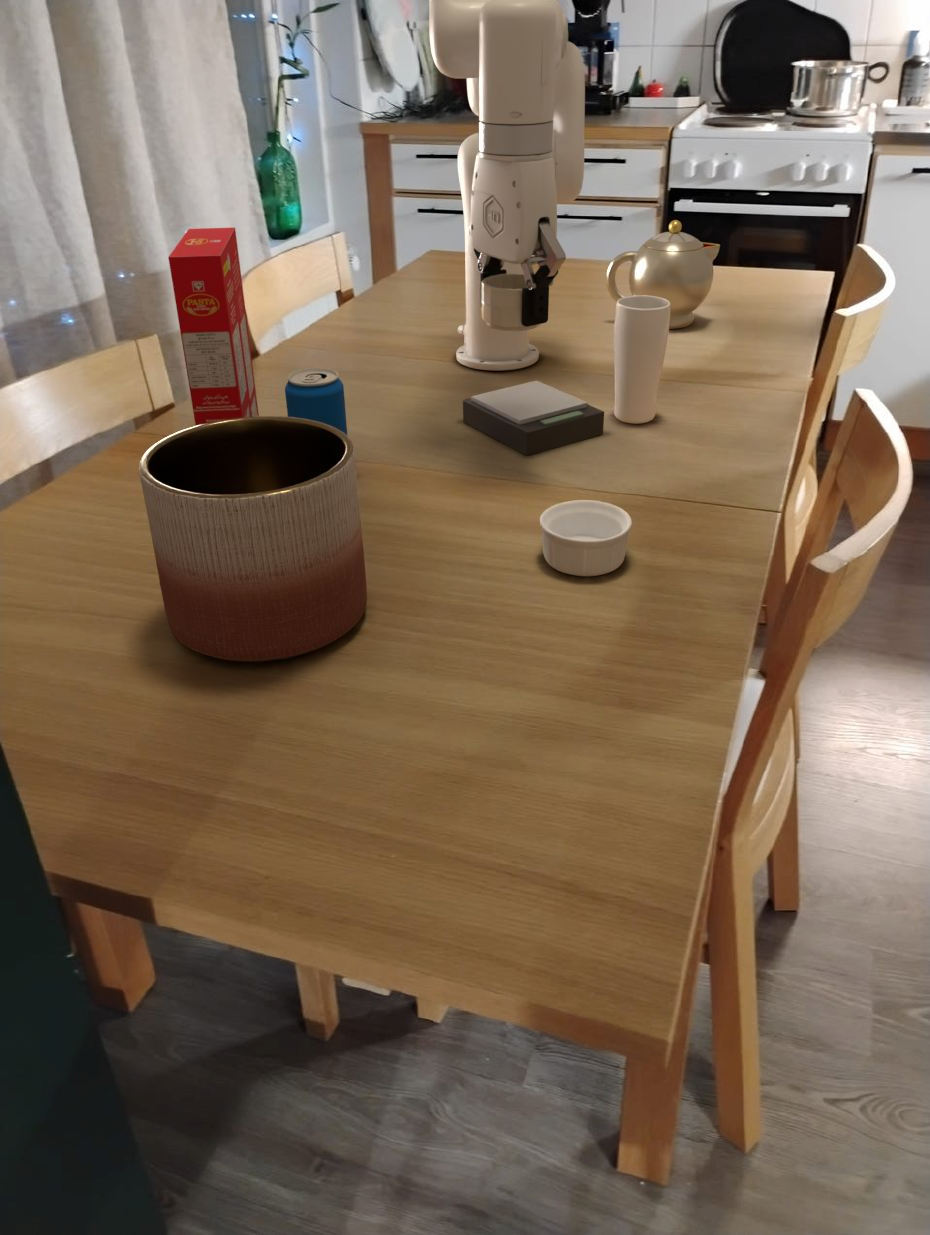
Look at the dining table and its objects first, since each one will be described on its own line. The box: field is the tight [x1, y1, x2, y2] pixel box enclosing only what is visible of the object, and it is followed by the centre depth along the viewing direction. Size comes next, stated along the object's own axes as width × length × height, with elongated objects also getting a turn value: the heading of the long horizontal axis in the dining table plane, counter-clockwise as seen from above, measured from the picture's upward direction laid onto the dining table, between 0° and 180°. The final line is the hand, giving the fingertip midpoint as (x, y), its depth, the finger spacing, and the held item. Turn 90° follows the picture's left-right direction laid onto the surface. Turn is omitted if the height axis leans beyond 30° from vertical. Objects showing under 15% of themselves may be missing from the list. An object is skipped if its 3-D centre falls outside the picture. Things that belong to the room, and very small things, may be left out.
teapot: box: [605, 219, 721, 330], centre depth 165 cm, size 18×14×16 cm
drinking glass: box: [613, 295, 671, 425], centre depth 128 cm, size 7×7×15 cm
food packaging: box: [167, 227, 260, 426], centre depth 116 cm, size 15×5×25 cm, turn 5°
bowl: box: [482, 273, 541, 331], centre depth 111 cm, size 7×7×5 cm
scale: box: [462, 380, 605, 457], centre depth 128 cm, size 14×12×4 cm
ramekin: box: [539, 499, 633, 577], centre depth 98 cm, size 9×9×4 cm
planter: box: [138, 415, 368, 663], centre depth 87 cm, size 18×18×16 cm
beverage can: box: [284, 367, 348, 436], centre depth 114 cm, size 6×6×12 cm
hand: (513, 314), depth 112 cm, fingers closed on bowl, 7 cm apart
